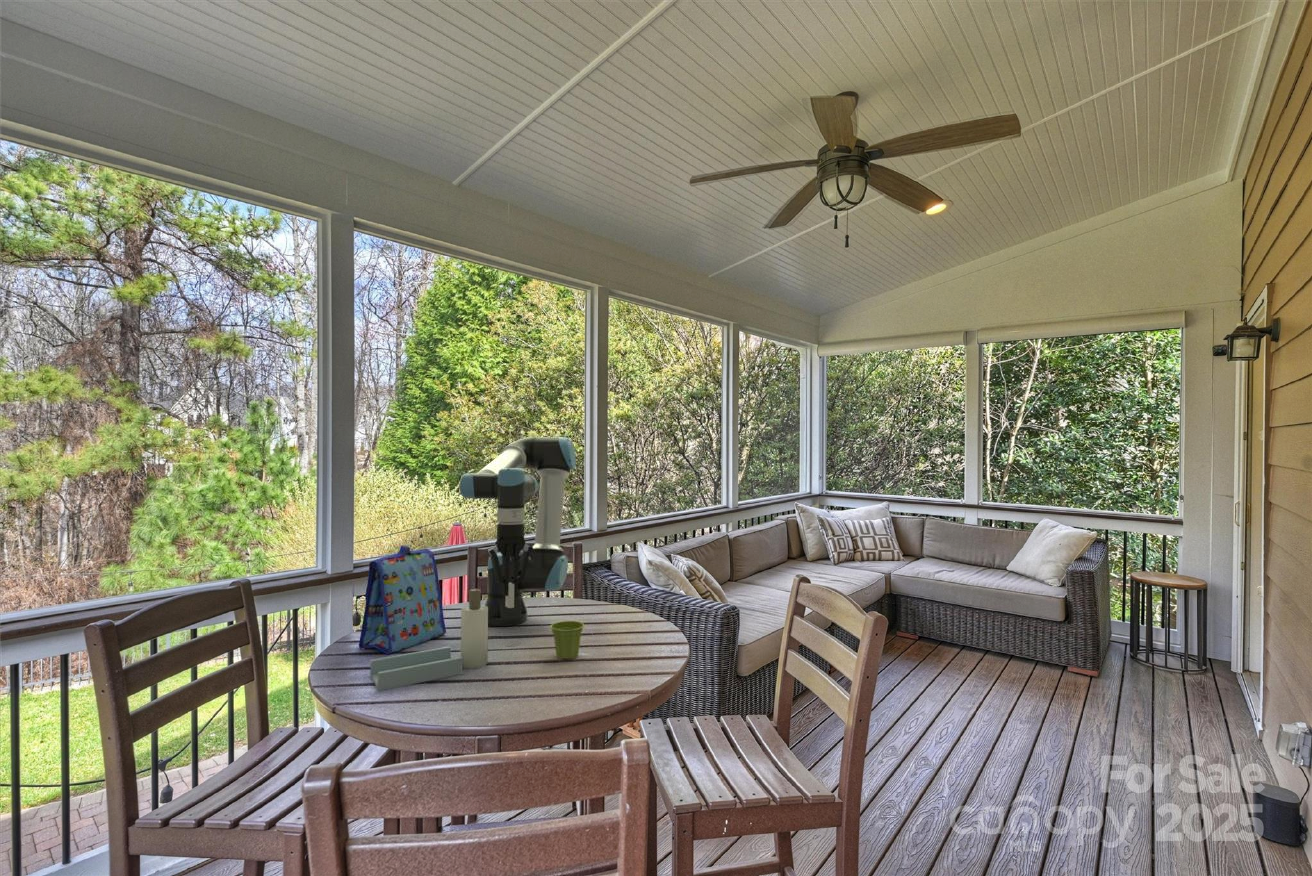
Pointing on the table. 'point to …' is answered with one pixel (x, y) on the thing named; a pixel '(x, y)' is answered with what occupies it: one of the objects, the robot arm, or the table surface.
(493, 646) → the table surface
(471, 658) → the cream bottle
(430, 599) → the lunch bag
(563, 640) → the plant pot
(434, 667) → the grey-green cradle
